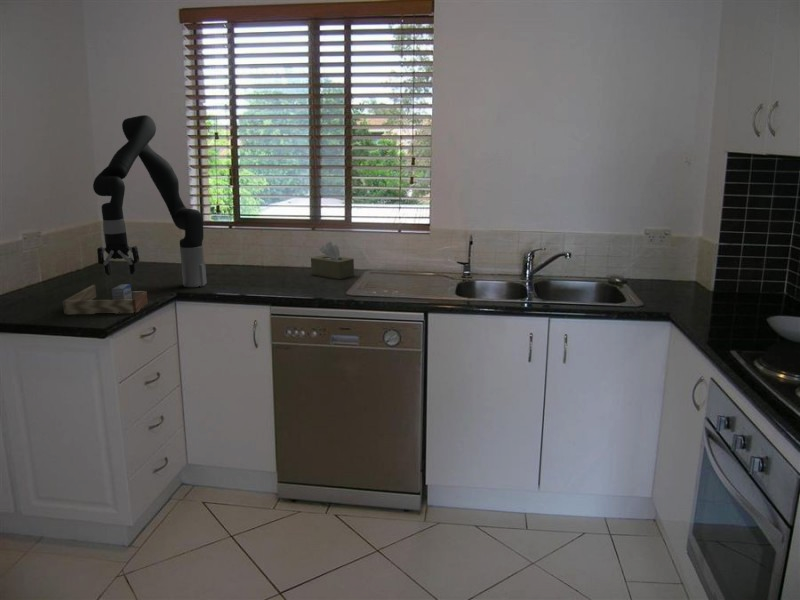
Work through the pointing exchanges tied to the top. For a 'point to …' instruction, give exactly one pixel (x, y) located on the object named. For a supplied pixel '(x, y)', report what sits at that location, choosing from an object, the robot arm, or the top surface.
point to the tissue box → (332, 263)
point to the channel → (103, 303)
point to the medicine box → (122, 292)
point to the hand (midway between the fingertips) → (120, 274)
